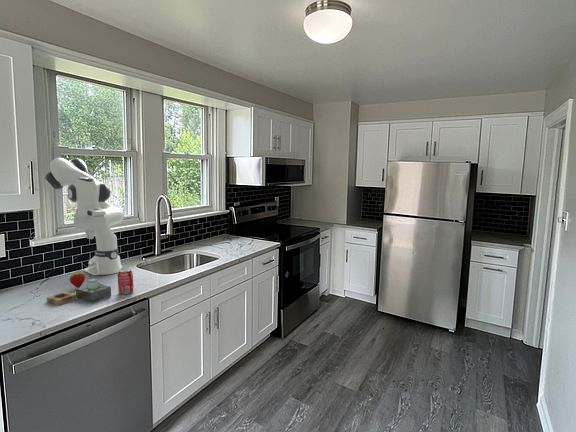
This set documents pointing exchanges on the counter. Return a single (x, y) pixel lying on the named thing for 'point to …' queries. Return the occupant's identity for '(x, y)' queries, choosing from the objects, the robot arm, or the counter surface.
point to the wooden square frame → (61, 298)
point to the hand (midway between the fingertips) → (90, 238)
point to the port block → (93, 293)
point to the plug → (92, 284)
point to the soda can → (125, 281)
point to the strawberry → (77, 279)
